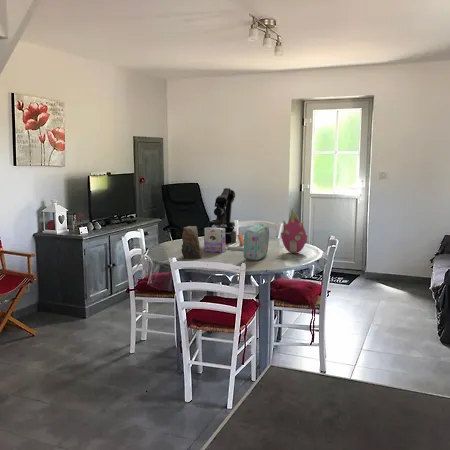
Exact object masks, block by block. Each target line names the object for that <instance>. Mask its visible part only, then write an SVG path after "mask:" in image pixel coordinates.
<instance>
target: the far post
mask: <svg viewBox="0 0 450 450" xmlns="http://www.w3.org/2000/svg"><path fill="white" fill-rule="evenodd" d="M234 243H237V231H236V230H233V231H232V242H231V243H230V245H232V244H234Z"/></svg>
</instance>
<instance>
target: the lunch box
mask: <svg viewBox="0 0 450 450" xmlns="http://www.w3.org/2000/svg"><path fill="white" fill-rule="evenodd" d="M243 238H244V250H243V257H244V259H245V260H250V261H259V260H260V259H264V257H266V256H267V254H268V250H269V240H270V239H269V238H270V227H268V226H267V225H264V224H262V223H259V224H254V225H253V226H251V227H247V228H246V229H245V232H244V235H243Z"/></svg>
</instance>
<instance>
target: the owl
mask: <svg viewBox="0 0 450 450" xmlns="http://www.w3.org/2000/svg"><path fill="white" fill-rule="evenodd" d="M181 234H182V236H181V239H182V245H181V253H182V257H183V260H188V259H189V260H195V259H202V253H201V246H200V241H199V240H200V239H199V235H198V234H199V231H198V227H197V225H194V226H193V225H188V226H185V227H182V233H181Z"/></svg>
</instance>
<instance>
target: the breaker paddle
mask: <svg viewBox="0 0 450 450" xmlns="http://www.w3.org/2000/svg"><path fill="white" fill-rule="evenodd" d="M236 237H238V240H239V243H240V244H243V245H244V235H243V234H242V233H239V234H236Z"/></svg>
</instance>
